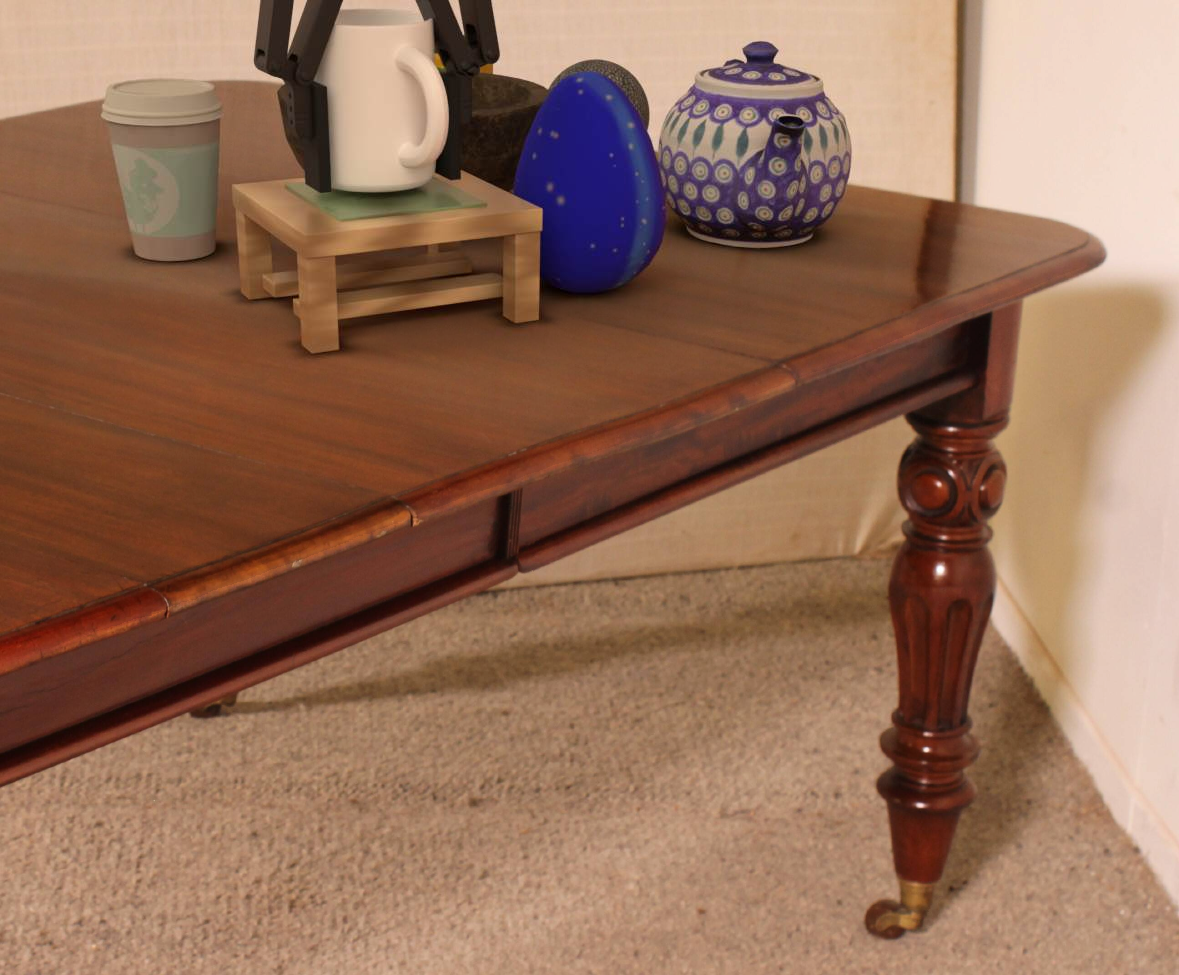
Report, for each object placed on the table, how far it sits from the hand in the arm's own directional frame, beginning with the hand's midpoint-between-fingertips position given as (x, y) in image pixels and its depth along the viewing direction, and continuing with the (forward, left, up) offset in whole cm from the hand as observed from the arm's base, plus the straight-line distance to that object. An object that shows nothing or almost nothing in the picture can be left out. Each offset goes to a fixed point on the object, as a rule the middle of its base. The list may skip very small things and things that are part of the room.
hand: (383, 181), depth 97 cm
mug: (0, 0, 0) cm, 1 cm away
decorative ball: (+34, +31, -9) cm, 47 cm away
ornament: (+14, -2, -9) cm, 17 cm away
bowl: (+12, +22, -9) cm, 27 cm away
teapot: (+34, +6, -9) cm, 36 cm away
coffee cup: (-9, +19, -9) cm, 23 cm away
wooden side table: (0, 0, -9) cm, 9 cm away
